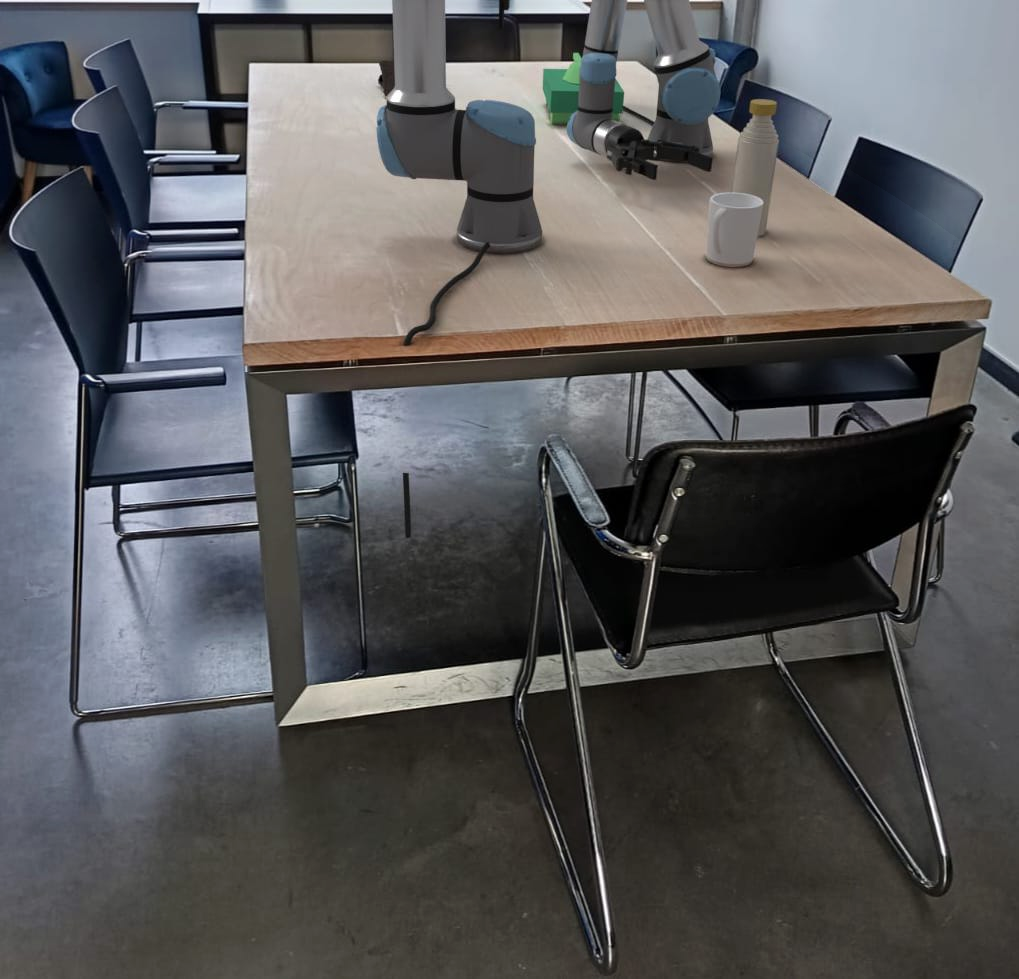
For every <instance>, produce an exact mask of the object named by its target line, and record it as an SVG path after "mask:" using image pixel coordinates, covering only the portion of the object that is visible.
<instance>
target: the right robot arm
mask: <svg viewBox="0 0 1019 979" xmlns="http://www.w3.org/2000/svg"><path fill="white" fill-rule="evenodd" d="M643 2H644V3H643V4H644V6H645V9H646V10H645V11H646V13H647V14H646V15H647V17H648V20H649V24H650V28H651V32H652V34H653V38H654V43H655V46H656V51H657V56H656V59H655V61H654V63H653V68H654V72H655V77H656V79H657V84H658V93H657V103H656V114H655V115H656V116H655V119H654V120H652V119H650V118H648V117H647V116H646V115H645V116H644V115H643V114H641V113H639V112H637V111H635V110H634V109H630V108H629V107H628V106H625V105H623V111H626V112H628V113H630V114H632V115H634V116H635V117H638V118H640V119H642V120H643V121H646V122H647V123H649V124H651V125H652V127H651V129H650V132H649V134H648V137H647V138H646V139H645V138H644V135H643V133H642V132H641V131H640V130H639V129H637V128H635V127H632V126H630V125H627V124H625V123H622V122H620V121H618V122H617V121H614V120H612V112H613V99H614V89H615V78H617V62H618V57H619V49H620V43H621V38H622V31H623V26H624V22H625V15H626V11H627V5H628V0H591V2H590V9H589V15H588V21H587V27H586V34H585V40H584V47H583V53H582V56H581V66H580V71H579V74H580V77H579V98H578V109H577V111H576V112H575V113H573V114H572V115H571V117H570V120H569V122H568V124H566V135H567V137H568V138H569V140H570V141H571V142H572V143H573V144H575V145H576V146H578V147H580V149H584V150H587V151H590V152H592V153H594V154H597V155H599V156H601V157H605V158H606V159H607V161H609V162H611V163H612V165H613V167H614V168H615V170H616V171H617V172H623V169H625V175H628V176H630V175H632V174H633V172H634V173H636V174H638V175H641V176H643V177H645V178H647V179H650V180H652V181H655V180H656V181H657V176H658V175H657V174H658V168H659V167H658V166H659V165H658V164H656V163H653V162H650V161H655V162H658V161H666V162H674V163H687V165H689V166H692V167H694V168H696V169H699V170H702V171H703V172H707V173H711V172H712V166H713V154H714V144H713V140H712V139H713V138H712V133H711V129H710V124H709V118H710V117H711V116H712V115H713V114H714V112H716V110H717V108H718V106H719V103H720V99H721V93H722V90H721V83H720V81H719V80H718V78H717V75H716V71H715V64H716V63H717V62H716V61H717V59H716V51H715V49H714V48H711V47H709V45H708V44H707V43H704V42H703V41H701V40H700V38H699V34H698V30H697V26H696V23H695V18H694V13H693V10H692V7H691V6H692V5H691V2H690V0H643Z"/></svg>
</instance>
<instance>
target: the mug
mask: <svg viewBox="0 0 1019 979" xmlns="http://www.w3.org/2000/svg"><path fill="white" fill-rule="evenodd" d="M763 204H764V202H763V200H762V199H760V198H759V197H756V196H753V195H749V194H744V193H732V192H720V193H715V194H712V195H711V196H710V198H709V205H708V219H707V220H708V221H707V235H706V248H705V249H706V250H705V258H706V260H707V261H708V262H710V263H711V264H714V265H717V266H721V267H728V268H739V267H740V268H742V267H746V266H749V265H751V264H752V263H753V260H754V256H755V250H756V245H757V240H758V237H757V235H758V230H759V225H760V219H761V214H762V209H763Z"/></svg>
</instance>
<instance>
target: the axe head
mask: <svg viewBox="0 0 1019 979" xmlns="http://www.w3.org/2000/svg"><path fill="white" fill-rule="evenodd" d="M378 66H379V68H380V72H381V74H379V75H378V79H377V84H378V85H379V86H380V87H381V88H382V89H383V95H384V96H385V97H387V96H388V94H389V93H390V92H391V91H392V90H393V89H394V87H395V68H394V60H388V59H387V60H380V61H379V62H378Z"/></svg>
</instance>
